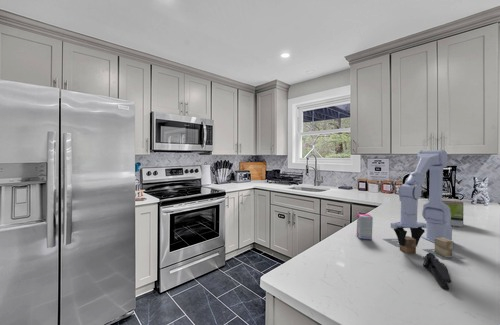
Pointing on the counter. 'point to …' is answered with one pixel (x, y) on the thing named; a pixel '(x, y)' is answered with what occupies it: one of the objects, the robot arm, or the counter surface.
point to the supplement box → (364, 226)
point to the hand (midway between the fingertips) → (408, 245)
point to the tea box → (455, 211)
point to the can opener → (437, 270)
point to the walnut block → (409, 245)
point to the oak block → (443, 246)
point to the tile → (393, 242)
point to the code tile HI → (453, 257)
